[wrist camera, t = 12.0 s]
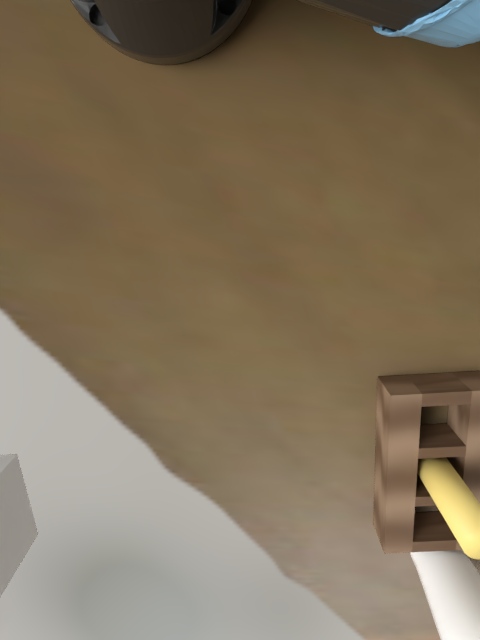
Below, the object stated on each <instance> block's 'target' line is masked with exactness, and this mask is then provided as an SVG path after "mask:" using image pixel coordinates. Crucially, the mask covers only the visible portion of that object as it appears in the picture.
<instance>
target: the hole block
mask: <svg viewBox="0 0 480 640" xmlns="http://www.w3.org/2000/svg"><path fill="white" fill-rule="evenodd" d="M445 405H449V407H448V419H447V423H445V424H426V425H420V421H421V407H427V406H445ZM442 457H446V458H447V459H448V461H449V462H450V463H451V465H452V466H453V468H454V469H455V470H456V472H457V473H458V474H459V476H460V477H461V478H462V480H463V481H464V482H465V484H466V485H467V487H468V488H469V489H470V491H471V492H472V493H473V495H474V496H475V497H476V499H477V500H478V502H479V503H480V371H466V372H449V373H431V374H414V375H397V376H379V377H378V379H377V413H376V447H375V481H374V515H373V525H374V527H375V530H376V533H377V535H378V538H379V541H380V543H381V546H382V549H383V551H384V554H386V553H408V552H431V551H454V550H463V549H462V548H461V546H460V544H459V543H458V541H457V539H456V538H455V536H454V534H453V533H452V531H451V529H450V528H449V526H448V524H447V522H446V521H445V519H444V517H443V516H442V514H441V512H440V511H436V512H415V507H416V506H436V504H435V502H434V501H433V499H432V497H431V496H430V494H429V492H428V490H427V489H426V487H425V485H424V484H423V482H422V480H421V479H420V477H419V475H418V474H417V468H418V459H422V458H442Z"/></svg>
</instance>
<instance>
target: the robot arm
mask: <svg viewBox="0 0 480 640" xmlns="http://www.w3.org/2000/svg"><path fill="white" fill-rule="evenodd" d="M70 1H71V2H72V4H73V5H74V7H75V8H76V10H77V11H78V13H79V14H80V15H81V16H82V18H83V19H84V20H85V21H86V22H87V23H88V24H89V25H90V27H91V28H92V29H93V30H94V31H95V32H96V33H97V34H98V35H99V36H100V37H101V38H102V39H103V40H105V41H106V42H107V43H108V44H110V45H111V46H112V47H114V48H115V49H117V50H118V51H120V52H122V53H123V54H125V55H127V56H129V57H132V58H134V59H137V60H140V61H143V62H147V63H152V64H162V65H170V64H180V63H184V62H188V61H192V60H194V59H197V58H199V57H202V56H204V55H206V54H207V53H209V52H211V51H212V50H214V49H215V48H217V47H218V46H219V45H220V44H222V43H223V42H224V41H225V40H226V39H227V38H228V37H229V36H230V35H231V34H232V33H233V31H234V30H235V29H236V28H237V26H238V25H239V24H240V22H241V21H242V19H243V18H244V16H245V14H246V12H247V10H248V8H249V6H250V4H251V2H252V0H70ZM298 1H301V2H304V3H307V4H310V5H313V6H316V7H319V8H321V9H324V10H327V11H330V12H333V13H336V14H339V15H342V16H345V17H348V18H351V19H354V20H357V21H360V22H363V23H366V24H369V25H372V26H373V29H374V31H376V32H377V33H380V34H382V35H385V36H388V37H395V36H406V37H410V38H414V39H417V40H421V41H424V42H428V43H432V44H435V45H439V46H443V47H460V46H463V45H466V44H471V43H475V42H478V41H480V0H298ZM37 535H38V532H37V528H36V525H35V521H34V517H33V514H32V509H31V506H30V502H29V498H28V494H27V491H26V487H25V483H24V479H23V475H22V472H21V468H20V464H19V460H18V457H17V454H9V455H0V597H1V595H2V593H3V592H4V590H5V588H6V587H7V585H8V583H9V582H10V580H11V578H12V577H13V575H14V573H15V572H16V570H17V568H18V567H19V565H20V563H21V562H22V560H23V558H24V557H25V555H26V553H27V552H28V550H29V548H30V547H31V545H32V543H33V542H34V540H35V538H36V537H37Z"/></svg>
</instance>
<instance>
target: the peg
mask: <svg viewBox="0 0 480 640" xmlns="http://www.w3.org/2000/svg"><path fill="white" fill-rule="evenodd" d="M417 474H418V475H419V477H420V479H421V480H422V482H423V484H424V485H425V487H426V489H427V490H428V492H429V494H430V496H431V497H432V499H433V501H434V502H435V504H436V506H437V507H438V509H439V511H440V512H441V514H442V516H443V517H444V519H445V521H446V522H447V524H448V526H449V528H450V529H451V531H452V533H453V534H454V536H455V538H456V539H457V541H458V543H459V544H460V546H461V548H462V549H463V551H464V553H465V554H466V555H467V556H469V557H471V558H473V559H480V503H479V502H478V500H477V499H476V497H475V496H474V495H473V493H472V492H471V491H470V489H469V488H468V487H467V485H466V484H465V482H464V481H463V480H462V478H461V477H460V476H459V474H458V473H457V472H456V470H455V469H454V468H453V466H452V465H451V463H450V462H449V461H448V459H447V458H446V457H442V458H422V459H418V468H417Z"/></svg>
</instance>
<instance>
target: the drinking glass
mask: <svg viewBox="0 0 480 640" xmlns="http://www.w3.org/2000/svg"><path fill="white" fill-rule="evenodd" d="M410 554H411V557H412V560H413V562H414V564H415V566H416V569H417V572H418V574H419V577H420V580H421V583H422V586H423V589H424V592H425V595H426V598H427V600H428V603H429V606H430V609H431V612H432V615H433V618H434V621H435V624H436V627H437V630H438V633H439V636H440V639H441V640H480V573H479V572H478V570H477V569H476V567H475V566H474V565H473V563H472V562H471V560H470V559H469V557H468V556H467V555H466V554H465V553H464V551H463V550H454V551H431V552H410Z"/></svg>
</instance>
